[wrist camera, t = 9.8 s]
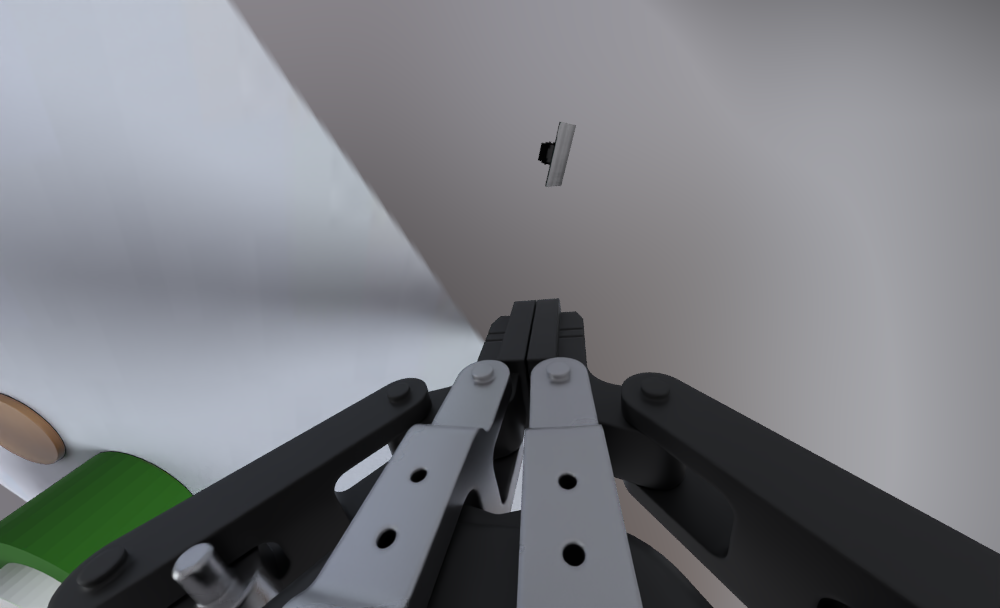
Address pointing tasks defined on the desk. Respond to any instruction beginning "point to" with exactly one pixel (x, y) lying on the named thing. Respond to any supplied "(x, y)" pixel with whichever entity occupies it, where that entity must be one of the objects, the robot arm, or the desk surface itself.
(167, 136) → the desk surface
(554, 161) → the build plate
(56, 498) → the candle
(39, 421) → the coaster
